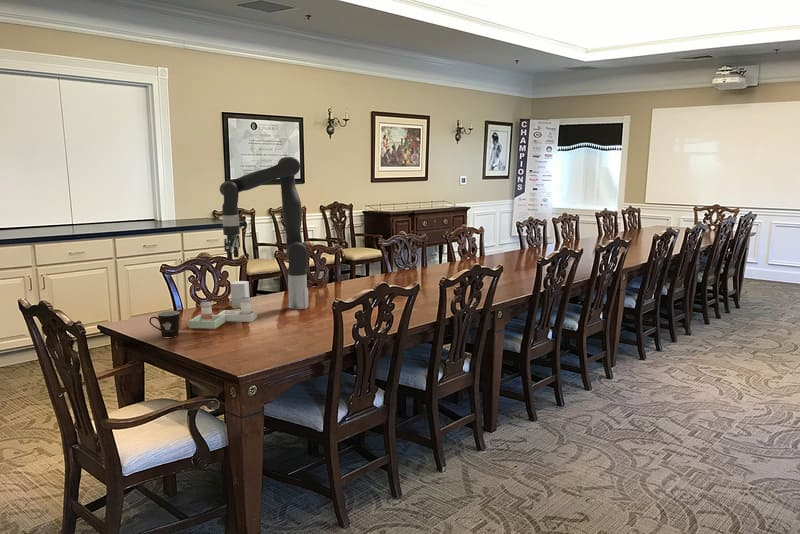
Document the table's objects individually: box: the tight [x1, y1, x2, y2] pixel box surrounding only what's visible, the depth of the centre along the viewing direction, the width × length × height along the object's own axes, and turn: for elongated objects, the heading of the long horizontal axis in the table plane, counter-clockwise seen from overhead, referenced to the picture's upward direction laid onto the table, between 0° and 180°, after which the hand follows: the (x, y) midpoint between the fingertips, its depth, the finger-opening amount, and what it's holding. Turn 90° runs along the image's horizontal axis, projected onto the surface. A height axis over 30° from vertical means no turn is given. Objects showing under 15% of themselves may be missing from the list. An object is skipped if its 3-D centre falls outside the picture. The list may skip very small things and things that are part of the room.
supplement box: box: [230, 280, 250, 309], centre depth 316 cm, size 7×7×13 cm
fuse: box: [240, 296, 252, 315], centre depth 286 cm, size 5×5×10 cm
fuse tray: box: [187, 314, 226, 332], centre depth 277 cm, size 12×12×4 cm
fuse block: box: [216, 309, 258, 323], centre depth 287 cm, size 16×8×4 cm, turn 84°
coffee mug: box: [148, 310, 180, 337], centre depth 262 cm, size 12×9×10 cm
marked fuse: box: [200, 301, 213, 321], centre depth 276 cm, size 5×5×10 cm
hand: (233, 258), depth 294 cm, fingers open, 8 cm apart
